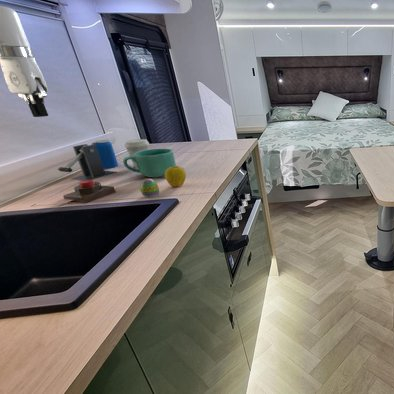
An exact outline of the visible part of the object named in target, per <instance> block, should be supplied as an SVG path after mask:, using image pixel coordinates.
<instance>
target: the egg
mask: <svg viewBox="0 0 394 394" xmlns="http://www.w3.org/2000/svg"><path fill="white" fill-rule="evenodd" d="M139 190H140V193H141V195H142V196H143V197H144V198H147V199H151V198H156V197H157V196H159V193H160V188H159V185H158V184H157V182H156V181H155V180H153V179H152V178H144V179H143V180H142V181H141V183H140V189H139Z"/></svg>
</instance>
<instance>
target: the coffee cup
mask: <svg viewBox="0 0 394 394" xmlns="http://www.w3.org/2000/svg"><path fill="white" fill-rule="evenodd" d="M124 147H125V149H126V151H127V153H128V156H132V157H135V156H134V154H135V153H137V152H140V151H145V150H150V142H149V141H148V140H147V139H146V138H137V139H136V138H135V139H130V140H125V142H124ZM131 162H132V164H133V166H134V169H138V167H137V163H136V162H135V161H134V160H131Z"/></svg>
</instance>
